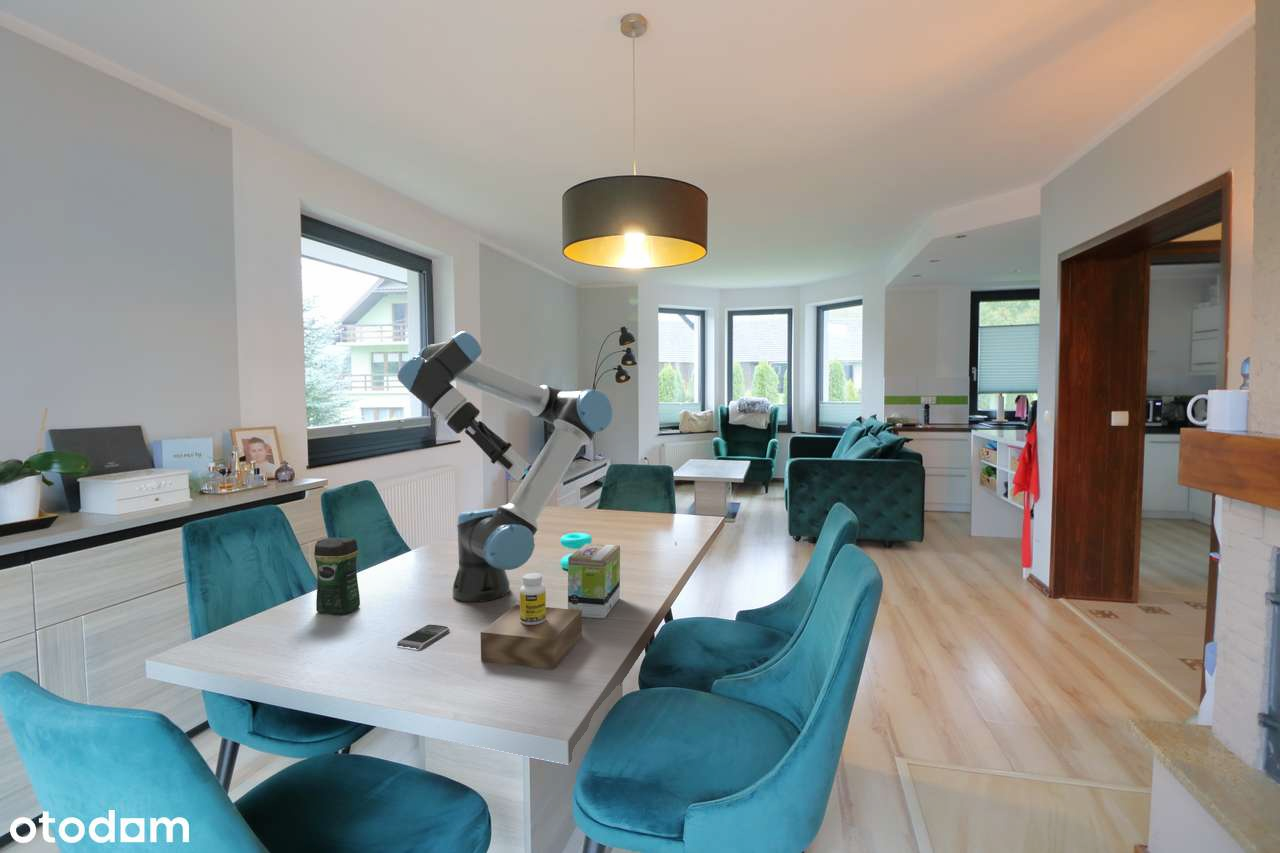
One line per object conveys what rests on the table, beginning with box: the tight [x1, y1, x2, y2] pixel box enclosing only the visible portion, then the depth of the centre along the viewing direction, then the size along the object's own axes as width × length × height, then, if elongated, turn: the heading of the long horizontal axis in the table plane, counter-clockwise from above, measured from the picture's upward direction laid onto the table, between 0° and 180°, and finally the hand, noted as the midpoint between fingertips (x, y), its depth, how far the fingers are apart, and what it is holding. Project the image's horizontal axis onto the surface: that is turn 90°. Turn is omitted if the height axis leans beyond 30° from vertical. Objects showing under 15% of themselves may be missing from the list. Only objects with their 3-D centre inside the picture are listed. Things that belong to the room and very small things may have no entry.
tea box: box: [567, 543, 621, 619], centre depth 146 cm, size 15×10×15 cm
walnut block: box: [480, 603, 583, 670], centre depth 122 cm, size 16×16×6 cm
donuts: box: [560, 532, 593, 570], centre depth 181 cm, size 10×10×10 cm
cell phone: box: [396, 624, 450, 650], centre depth 128 cm, size 6×11×1 cm, turn 162°
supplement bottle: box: [519, 572, 547, 625], centre depth 122 cm, size 5×5×10 cm
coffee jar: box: [313, 537, 361, 616], centre depth 145 cm, size 10×8×19 cm
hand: (524, 472), depth 137 cm, fingers open, 13 cm apart
